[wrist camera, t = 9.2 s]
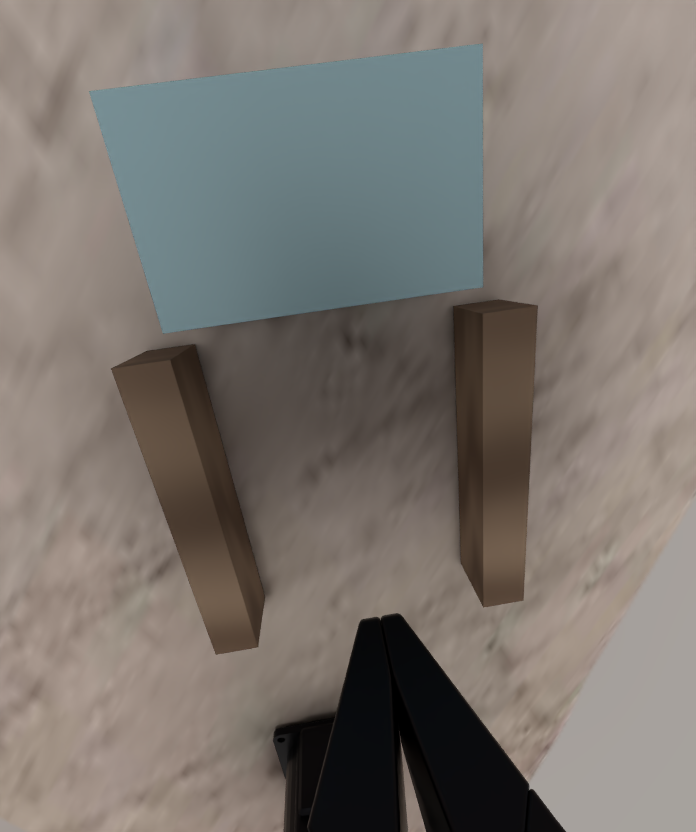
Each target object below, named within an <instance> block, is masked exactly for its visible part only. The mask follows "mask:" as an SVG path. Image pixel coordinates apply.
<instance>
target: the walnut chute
mask: <svg viewBox="0 0 696 832" xmlns="http://www.w3.org/2000/svg"><path fill="white" fill-rule="evenodd" d="M453 308H454V342H455V376H456V410H457V444H458V478H459V512H460V547H461V564H462V566H463V568H464V570H465V572H466V574H467V576H468V578H469V580H470V582H471V584H472V586H473V588H474V590H475V592H476V594H477V596H478V598H479V600H480V602H481V604H482V606H483V607H489V606H494V605H500V604H506V603H511V602H517V601H523V598H524V577H525V557H526V536H527V515H528V495H529V474H530V453H531V433H532V412H533V391H534V371H535V350H536V329H537V309H538V306H536V305H530V304H524V303H518V302H511V301H505V300H493V301H486V302H479V303H472V304H466V305H459V306H453ZM111 370H112V373H113V375H114V378H115V381H116V384H117V386H118V389H119V392H120V394H121V397H122V400H123V403H124V405H125V408H126V411H127V414H128V416H129V419H130V422H131V424H132V427H133V430H134V433H135V435H136V438H137V441H138V444H139V446H140V449H141V452H142V454H143V457H144V460H145V463H146V465H147V468H148V471H149V474H150V476H151V479H152V482H153V484H154V487H155V490H156V493H157V495H158V498H159V501H160V504H161V506H162V509H163V512H164V514H165V517H166V520H167V523H168V525H169V528H170V531H171V534H172V536H173V539H174V542H175V544H176V547H177V550H178V553H179V555H180V558H181V561H182V564H183V566H184V569H185V572H186V575H187V577H188V580H189V583H190V585H191V588H192V591H193V594H194V596H195V599H196V602H197V605H198V607H199V610H200V613H201V615H202V618H203V621H204V624H205V626H206V629H207V632H208V635H209V637H210V640H211V643H212V645H213V648H214V651H215V654H216V655H217V654H222V653H228V652H234V651H239V650H245V649H251V648H256V647H258V643H259V636H260V629H261V622H262V615H263V608H264V601H265V595H264V592H263V588H262V585H261V581H260V577H259V574H258V570H257V567H256V563H255V559H254V556H253V552H252V549H251V545H250V541H249V538H248V534H247V531H246V527H245V523H244V520H243V516H242V513H241V509H240V506H239V502H238V498H237V495H236V491H235V488H234V484H233V480H232V477H231V473H230V470H229V466H228V462H227V459H226V455H225V452H224V448H223V444H222V441H221V437H220V434H219V430H218V426H217V423H216V419H215V416H214V412H213V408H212V405H211V401H210V398H209V394H208V390H207V387H206V383H205V380H204V376H203V372H202V369H201V365H200V362H199V358H198V354H197V351H196V347H195V344H192V345H186V346H179V347H172V348H165V349H158V350H152V351H146V352H144V353H142V354H140V355H138V356H136V357H134V358H132V359H130V360H128V361H126V362H124V363H122V364H120V365H118V366H115V367H113V368H111Z"/></svg>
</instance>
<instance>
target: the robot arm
mask: <svg viewBox="0 0 696 832" xmlns="http://www.w3.org/2000/svg"><path fill="white" fill-rule="evenodd" d="M399 733H400V735H399ZM400 737H401V742H402V746H403V750H404V754H405V758H406V762H407V765H408V769H409V772H410V776H411V779H412V783H413V786H414V790H415V793H416V797H417V800H418V804H419V807H420V811H421V815H422V818H423V822H424V825H425V829H426V832H566V831H565V830H564V829H563V827H562V826H561V825H560V824H559V822H558V821H557V820H556V819H555V817H554V816H553V815H552V813H551V812H550V811H549V809H548V808H547V807H546V805H545V804H544V803H543V801H542V800H541V799H540V798H539V796H538V795H537V794H536V792H535V791H534V790H533V789H530V790H529V783H528V782H527V781H526V779H525V778H524V777H523V775H522V774H521V773H520V771H519V770H518V769H517V767H516V766H515V765H514V763H513V762H512V761H511V759H510V758H509V757H508V755H507V754H506V753H505V752H504V750H503V749H502V748H501V746H500V745H499V744H498V742H497V741H496V740H495V738H494V737H493V736H492V734H491V733H490V732H489V730H488V729H487V728H486V726H485V725H484V724H483V722H482V721H481V720H480V718H479V717H478V716H477V714H476V713H475V712H474V710H473V709H472V708H471V707H470V705H469V704H468V703H467V701H466V700H465V699H464V697H463V696H462V695H461V693H460V692H459V691H458V689H457V688H456V687H455V685H454V684H453V683H452V681H451V680H450V679H449V677H448V676H447V675H446V673H445V672H444V671H443V669H442V668H441V667H440V666H439V664H438V663H437V662H436V660H435V659H434V658H433V656H432V655H431V654H430V652H429V651H428V650H427V648H426V647H425V646H424V644H423V643H422V642H421V640H420V639H419V638H418V636H417V635H416V634H415V632H414V631H413V630H412V628H411V627H410V626H409V624H408V623H407V622H406V621H405V619H404V618H403V617H402V616H401V615H400V614H398V613H396V614H390V615H384V616H382V617H381V621H380V619H379V618H378V617H373V618H367V619H362V620H361V621H360V623H359V626H358V630H357V633H356V637H355V641H354V645H353V649H352V653H351V657H350V661H349V665H348V669H347V673H346V677H345V680H344V684H343V688H342V692H341V696H340V700H339V704H338V708H337V712H336V716H335V718H333V719H328V720H322V721H317V722H311V723H306V724H301V725H295V726H290V727H284V728H279V729H277V730H275V732H274V738H273V742H274V745H275V748H276V751H277V754H278V757H279V760H280V763H281V766H282V769H283V772H284V775H285V779H286V791H285V811H284V832H408V826H407V813H406V801H405V788H404V776H403V763H402V752H401V743H400Z"/></svg>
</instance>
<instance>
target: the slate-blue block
mask: <svg viewBox="0 0 696 832" xmlns="http://www.w3.org/2000/svg"><path fill="white" fill-rule="evenodd" d="M89 93H90V96H91V99H92V102H93V106H94V109H95V112H96V115H97V119H98V122H99V125H100V129H101V132H102V135H103V138H104V142H105V145H106V148H107V152H108V155H109V158H110V161H111V165H112V168H113V171H114V174H115V178H116V181H117V184H118V188H119V191H120V194H121V197H122V201H123V204H124V207H125V211H126V214H127V217H128V220H129V224H130V227H131V230H132V233H133V237H134V240H135V243H136V247H137V250H138V253H139V256H140V260H141V263H142V266H143V270H144V273H145V276H146V279H147V283H148V286H149V289H150V292H151V296H152V299H153V302H154V306H155V309H156V312H157V315H158V319H159V322H160V325H161V329H162V332H163V334H164V333H171V332H178V331H185V330H191V329H198V328H205V327H212V326H219V325H226V324H233V323H240V322H247V321H253V320H260V319H267V318H274V317H281V316H288V315H295V314H302V313H309V312H316V311H322V310H329V309H336V308H343V307H350V306H357V305H364V304H371V303H378V302H384V301H391V300H398V299H405V298H412V297H419V296H426V295H433V294H440V293H446V292H453V291H460V290H467V289H474V288H481V287H483V44H475V45H467V46H459V47H450V48H442V49H434V50H426V51H417V52H409V53H401V54H393V55H384V56H376V57H368V58H360V59H351V60H343V61H335V62H327V63H318V64H310V65H302V66H294V67H285V68H277V69H269V70H261V71H252V72H244V73H236V74H228V75H219V76H211V77H203V78H195V79H186V80H178V81H170V82H162V83H153V84H145V85H137V86H129V87H121V88H112V89H104V90H96V91H89Z"/></svg>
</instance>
